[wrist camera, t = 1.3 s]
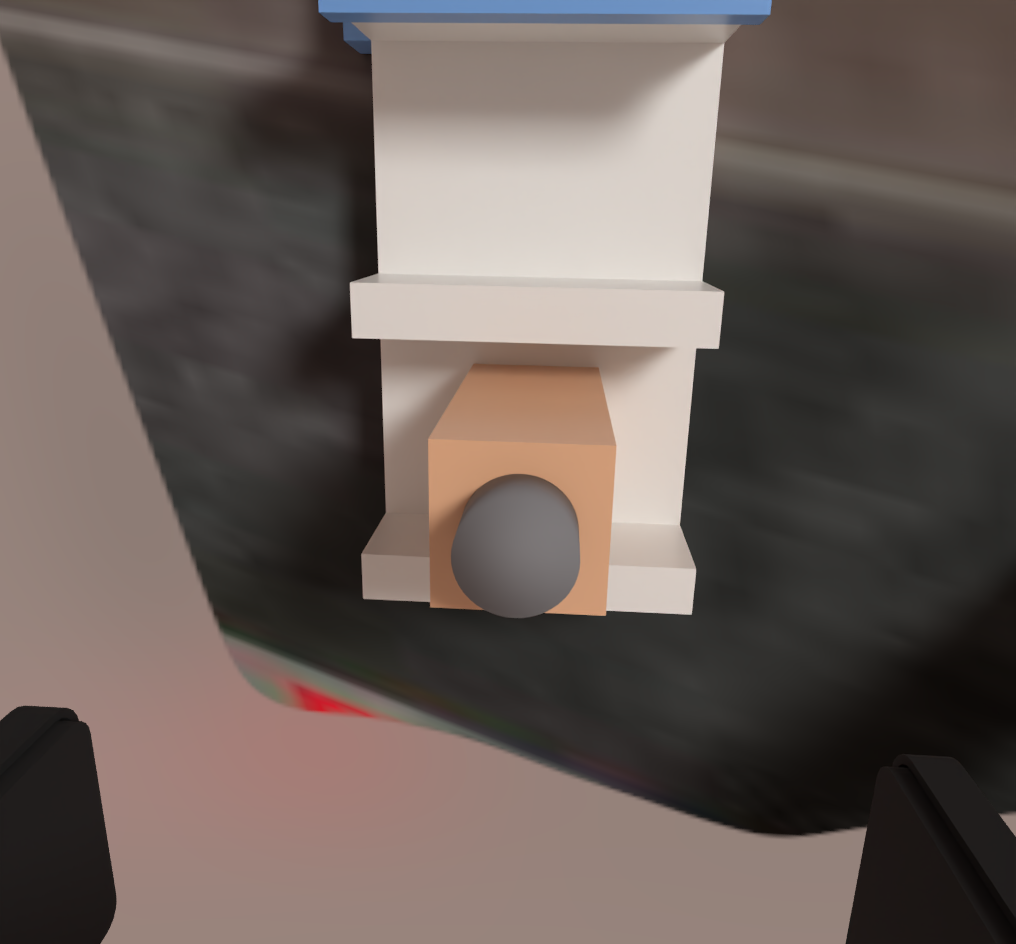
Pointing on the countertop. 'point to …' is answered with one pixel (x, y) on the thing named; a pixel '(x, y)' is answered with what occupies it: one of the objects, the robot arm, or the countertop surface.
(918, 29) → the countertop surface
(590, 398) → the cord plug
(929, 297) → the countertop surface
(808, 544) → the countertop surface
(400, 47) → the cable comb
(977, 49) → the countertop surface
